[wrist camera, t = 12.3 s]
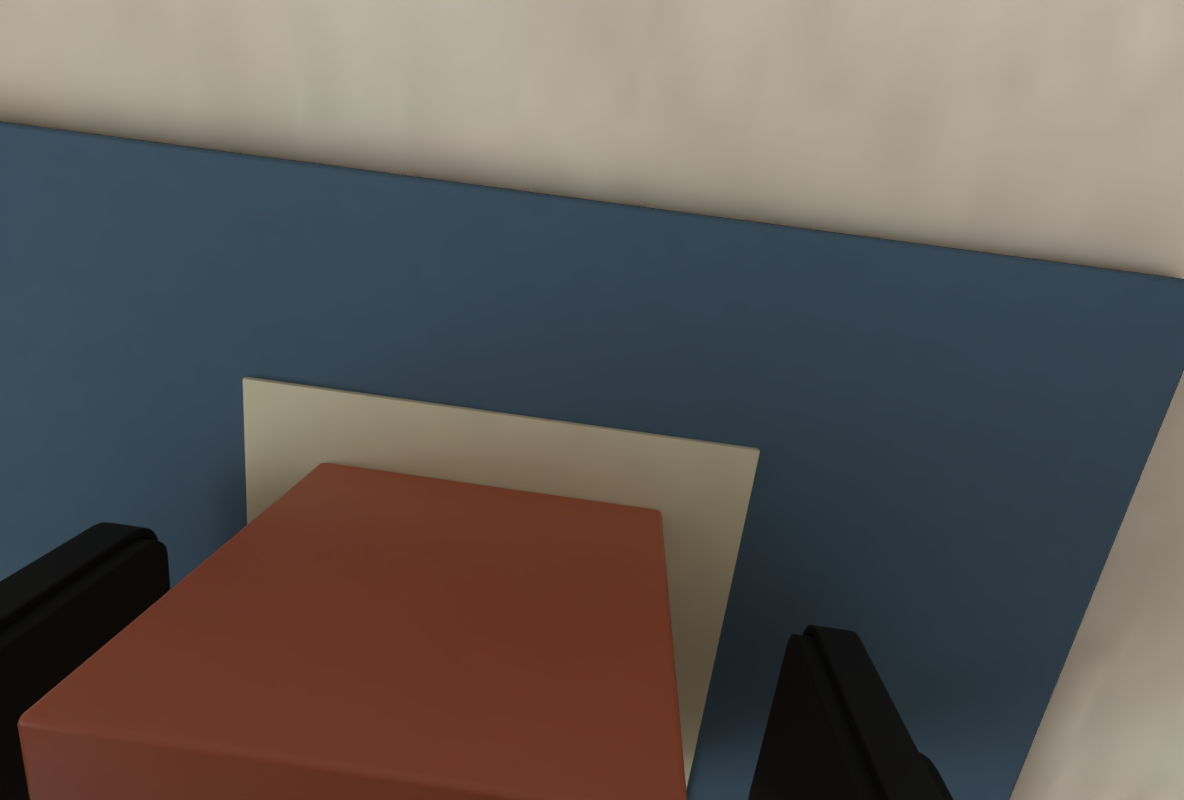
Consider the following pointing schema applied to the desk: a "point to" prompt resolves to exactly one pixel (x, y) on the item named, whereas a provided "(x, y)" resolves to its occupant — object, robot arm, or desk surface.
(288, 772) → the rust brown block
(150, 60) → the desk surface
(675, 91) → the desk surface
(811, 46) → the desk surface
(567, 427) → the mat
